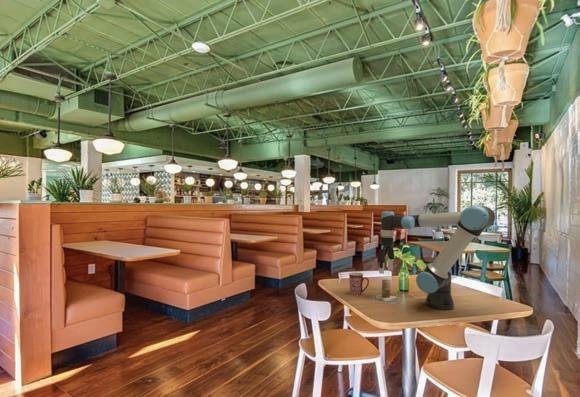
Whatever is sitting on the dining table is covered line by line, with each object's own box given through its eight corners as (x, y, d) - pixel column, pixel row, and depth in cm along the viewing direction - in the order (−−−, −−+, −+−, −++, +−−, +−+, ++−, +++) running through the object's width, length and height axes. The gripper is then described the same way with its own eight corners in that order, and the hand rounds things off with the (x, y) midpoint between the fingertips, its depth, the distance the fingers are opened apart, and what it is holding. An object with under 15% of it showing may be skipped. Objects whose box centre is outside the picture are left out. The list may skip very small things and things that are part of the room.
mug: (346, 295, 202) (347, 274, 202) (350, 292, 210) (351, 271, 210) (366, 298, 196) (367, 276, 196) (370, 295, 204) (370, 273, 204)
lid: (399, 298, 196) (399, 280, 196) (391, 303, 187) (392, 284, 187) (380, 294, 204) (380, 277, 204) (372, 298, 194) (372, 280, 194)
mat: (403, 299, 196) (403, 298, 196) (393, 305, 184) (393, 304, 184) (378, 294, 206) (378, 293, 206) (368, 299, 194) (368, 298, 194)
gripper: (388, 234, 208) (387, 267, 208) (372, 237, 188) (371, 273, 188) (400, 235, 203) (399, 269, 203) (384, 239, 183) (383, 276, 183)
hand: (386, 271), depth 196 cm, fingers open, 13 cm apart
